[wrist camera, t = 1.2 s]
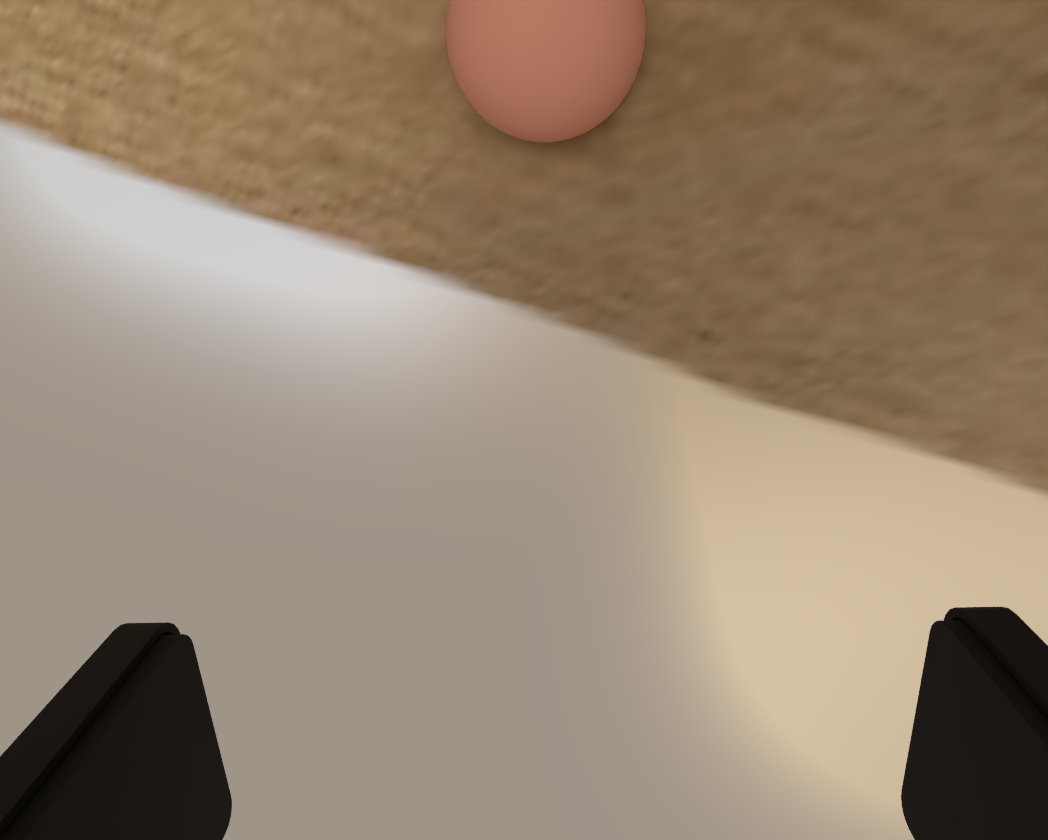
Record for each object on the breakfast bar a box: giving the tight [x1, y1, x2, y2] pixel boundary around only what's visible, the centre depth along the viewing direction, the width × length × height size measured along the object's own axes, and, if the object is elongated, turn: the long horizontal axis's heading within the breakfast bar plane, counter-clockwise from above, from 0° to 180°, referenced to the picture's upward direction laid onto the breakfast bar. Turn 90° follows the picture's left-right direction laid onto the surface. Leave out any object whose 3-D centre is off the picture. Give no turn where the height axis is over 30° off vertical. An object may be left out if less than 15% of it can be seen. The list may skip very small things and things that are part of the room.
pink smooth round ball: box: [446, 0, 646, 142], centre depth 20 cm, size 6×6×6 cm
